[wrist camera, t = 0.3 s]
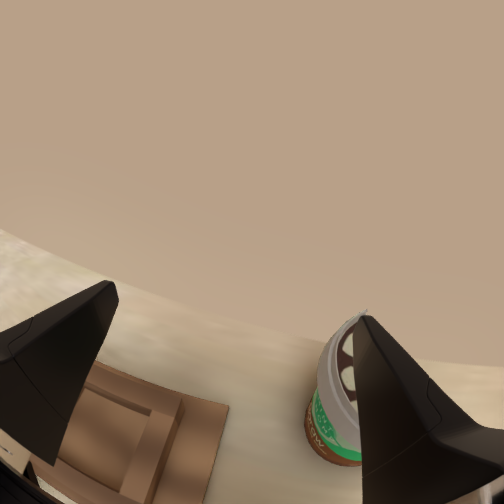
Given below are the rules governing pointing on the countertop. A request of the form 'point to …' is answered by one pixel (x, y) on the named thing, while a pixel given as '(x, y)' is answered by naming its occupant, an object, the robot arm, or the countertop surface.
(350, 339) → the food container
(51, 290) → the countertop surface
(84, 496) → the frame
